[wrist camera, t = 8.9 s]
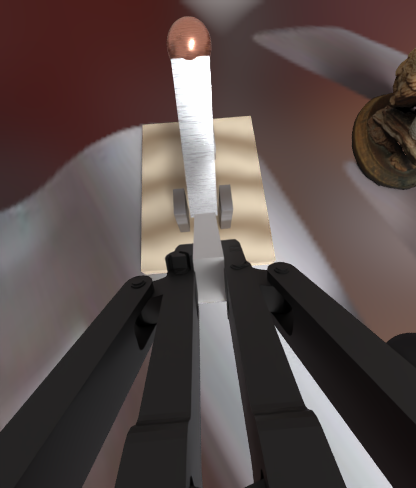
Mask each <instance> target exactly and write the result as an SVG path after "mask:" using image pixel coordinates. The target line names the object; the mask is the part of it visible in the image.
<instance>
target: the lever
mask: <svg viewBox="0 0 416 488" xmlns="http://www.w3.org/2000/svg"><path fill="white" fill-rule="evenodd" d="M167 49H168V53H169V57H170V59H171V62H172V71H173V79H174V86H175V95H176V103H177V111H178V119H179V128H180V136H181V144H182V152H183V160H184V168H185V176H186V184H187V192H188V200H189V208H190V216H191V218H192V217H194V214H203V213H214V212H215V215H218V214H217V196H216V177H215V158H214V139H213V120H212V101H211V82H210V64H209V58H210V53H211V39H210V35H209V33H208V30H207V29H206V27H205V26H204V24H203V23H202V22H201V21H199V20H198V19H196V18H194V17H190V16H189V17H188V16H187V17H182V18H180V19H178V20H177V21H176V22H175V23H174V24H173V25H172V27H171V29H170V31H169V33H168V38H167Z"/></svg>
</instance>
